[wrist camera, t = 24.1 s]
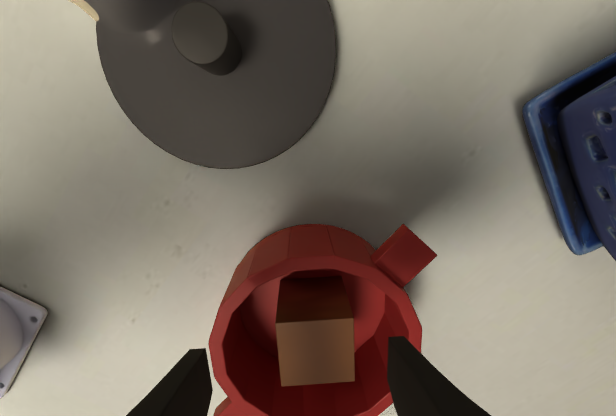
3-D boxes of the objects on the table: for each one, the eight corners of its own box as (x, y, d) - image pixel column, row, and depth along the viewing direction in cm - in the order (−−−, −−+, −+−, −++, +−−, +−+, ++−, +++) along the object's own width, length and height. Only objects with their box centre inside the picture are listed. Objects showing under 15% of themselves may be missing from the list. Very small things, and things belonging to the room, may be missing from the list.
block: (341, 275, 22) (354, 318, 17) (343, 327, 23) (355, 381, 18) (280, 279, 22) (274, 323, 17) (284, 331, 23) (281, 387, 18)
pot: (452, 268, 22) (500, 313, 17) (296, 410, 26) (296, 485, 20) (332, 158, 20) (345, 170, 15) (176, 331, 23) (140, 392, 18)
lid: (376, 17, 18) (403, -19, 13) (265, 202, 21) (256, 224, 16) (168, -140, 16) (116, -246, 11) (74, 93, 18) (4, 83, 14)
